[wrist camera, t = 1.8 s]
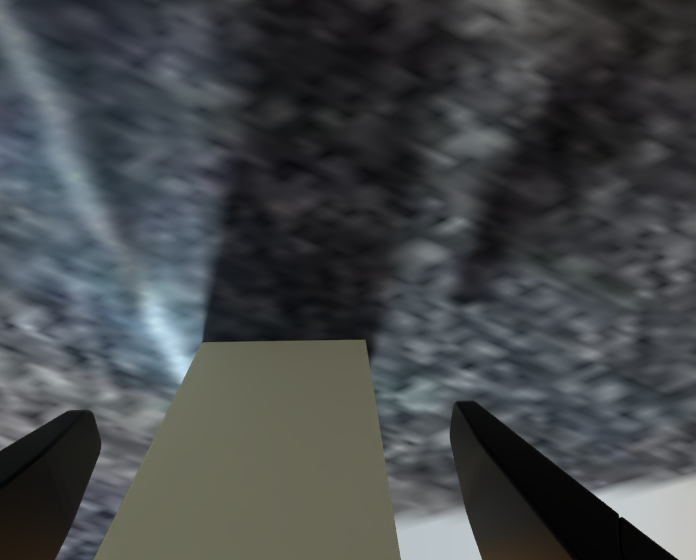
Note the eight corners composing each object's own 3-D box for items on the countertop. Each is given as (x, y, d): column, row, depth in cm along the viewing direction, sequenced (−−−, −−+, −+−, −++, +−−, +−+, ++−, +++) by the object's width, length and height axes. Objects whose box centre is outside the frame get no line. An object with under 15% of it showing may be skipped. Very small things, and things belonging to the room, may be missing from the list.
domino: (365, 339, 11) (435, 778, 4) (364, 385, 11) (423, 841, 4) (202, 342, 11) (-30, 806, 4) (208, 389, 11) (17, 869, 4)
